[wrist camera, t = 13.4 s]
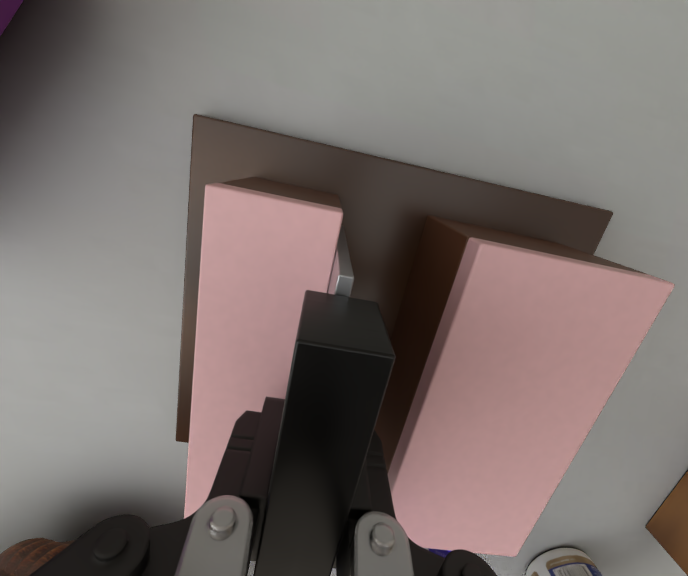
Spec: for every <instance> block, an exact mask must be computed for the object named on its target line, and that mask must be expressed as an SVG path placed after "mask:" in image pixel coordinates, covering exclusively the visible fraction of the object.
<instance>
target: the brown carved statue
mask: <svg viewBox="0 0 688 576" xmlns="http://www.w3.org/2000/svg"><path fill="white" fill-rule="evenodd" d="M74 541H75V540H72V541H66V542H56V541H53V540H49V539H45V538H34V539H28V540H25V541H22V542H19V543H17V544H15V545H13V546H11V547H10V548H8V549H7V550H5V551H4V552H3V553H1V554H0V576H29V575H30V574H32V573H33V572H34V571H36V570H37V569H38V568H40V567H41V566H42V565H43V564H45V563H46V562H47V561H49V560H50V559H51V558H53V557H54V556H55V555H57V554H58V553H59V552H61V551H62V550H63V549H65V548H66V547H67V546H69V545H70V544H71V543H73V542H74Z"/></svg>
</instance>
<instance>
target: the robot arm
mask: <svg viewBox="0 0 688 576" xmlns="http://www.w3.org/2000/svg"><path fill="white" fill-rule="evenodd" d="M284 402H285V399H281V398H274V397H267V396H266V397H265V401H264V405H263V408H262V412H256V411H248V410H246V411H245V412H244V413H243V414H242V415H241V416H240V417H239V418H238V419H237V420H236V422H235V425H234V427H233V430H232V433H231V436H230V438H229V441H228V444H227V447H226V449H225V452H224V455H223V458H222V460H221V463H220V466H219V469H218V471H217V474H216V477H215V480H214V482H213V485H212V488H211V491H210V493H209V495H208V498H207V499H206V501H205V502H204V504H203V505H202V506H201V507H200V508H199V509H198V510H197V511H196V512H194V513H193V514H192V515H190V516H188V517H187V518H185V519H182V520H180V521H177V522H174V523H170V524H165V525H161V526H156V527H152V528H149V527H148V525H147V523H146V522H145V521H144V520H143V519H141V518H140V517H137V516H134V515H119V516H115V517H111V518H109V519H106V520H104V521H102V522H100V523H98V524H97V525H95V526H94V527H92V528H91V529H90V530H88V531H87V532H86V533H84V534H83V535H82V536H80V537H79V538H78V539H76V540H75V541H74V542H73V543H71V544H70V545H69V546H67V547H66V548H65V549H63V550H62V551H61V552H59V553H58V554H57V555H55V556H54V557H53V558H51V559H50V560H49V561H47V562H46V563H45V564H43V565H42V566H41V567H40V568H38V569H37V570H36V571H34V572H33V573H32V574H30V575H29V576H247V574H248V569H249V564H250V561H256V558H257V553H258V547H259V542H260V536H261V530H262V525H263V519H264V514H265V508H266V502H267V497H268V491H269V486H270V480H271V475H272V469H273V463H274V458H275V452H276V447H277V441H278V435H279V430H280V424H281V419H282V413H283V407H284ZM333 568H336V572H337V576H497V575H496V574H495V572H494V571H493V570H492V569H491V567H490V566H489V565H488V564H487V563H486V562H485V561H484V560H483V559H481V558H480V557H479V556H477V555H476V554H474V553H472V552H470V551H467V550H463V549H457V550H453V551H451V552H449V553H448V554H447V556H446V557H445V558H444V557H442V556H439V555H437V554H435V553H433V552H431V551H429V550H426V549H424V548H422V547H420V546H419V545H417V544H416V543H414V542H413V541H412V540H411V539H409V538H408V537H407V534H406V532H405V530H404V529H403V527H402V526H401V524H400V523H399V522H398V521H397V519H396V516H395V512H394V506H393V501H392V496H391V490H390V485H389V480H388V474H387V469H386V463H385V458H384V453H383V447H382V442H381V439H380V438H379V436H378V435H377V433H376V431H375V430H374V431H373V435H372V438H371V441H370V445H369V448H368V451H367V455H366V458H365V461H364V465H363V468H362V471H361V475H360V478H359V481H358V485H357V488H356V491H355V495H354V498H353V501H352V505H351V508H350V511H349V515H348V518H347V521H346V525H345V528H344V531H343V535H342V538H341V541H340V545H339V548H338V551H337V555H336V558H335V561H334V564H333Z"/></svg>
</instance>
